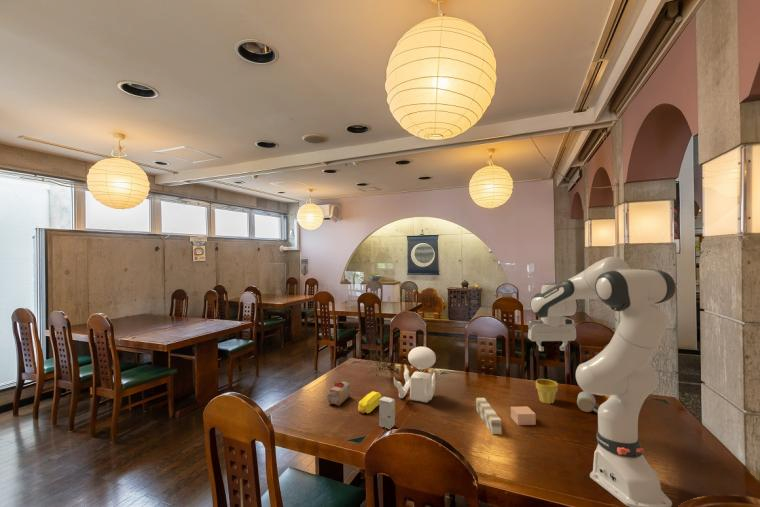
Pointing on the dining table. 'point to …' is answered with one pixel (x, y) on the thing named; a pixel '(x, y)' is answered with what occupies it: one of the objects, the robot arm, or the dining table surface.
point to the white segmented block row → (488, 416)
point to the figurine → (419, 376)
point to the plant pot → (546, 390)
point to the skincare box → (386, 412)
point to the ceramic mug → (587, 402)
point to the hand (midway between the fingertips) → (551, 350)
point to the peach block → (523, 415)
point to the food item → (338, 393)
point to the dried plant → (377, 361)
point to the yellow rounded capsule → (369, 402)
